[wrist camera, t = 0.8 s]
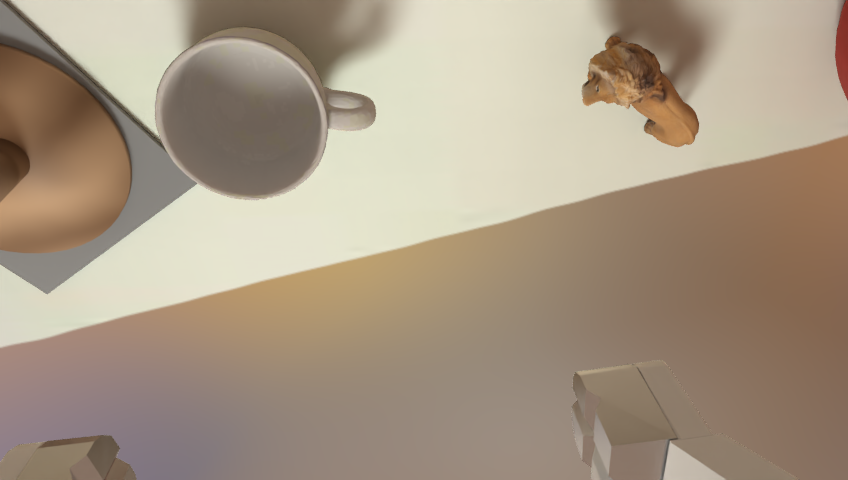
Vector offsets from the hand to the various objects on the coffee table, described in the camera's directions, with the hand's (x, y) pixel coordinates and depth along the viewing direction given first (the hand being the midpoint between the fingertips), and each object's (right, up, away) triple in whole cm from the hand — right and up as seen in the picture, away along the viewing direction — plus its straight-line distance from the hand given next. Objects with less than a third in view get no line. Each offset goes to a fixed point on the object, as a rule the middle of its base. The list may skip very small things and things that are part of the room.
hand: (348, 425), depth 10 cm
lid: (-30, +10, +31) cm, 44 cm away
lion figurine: (+18, +17, +37) cm, 44 cm away
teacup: (-10, +15, +32) cm, 37 cm away
